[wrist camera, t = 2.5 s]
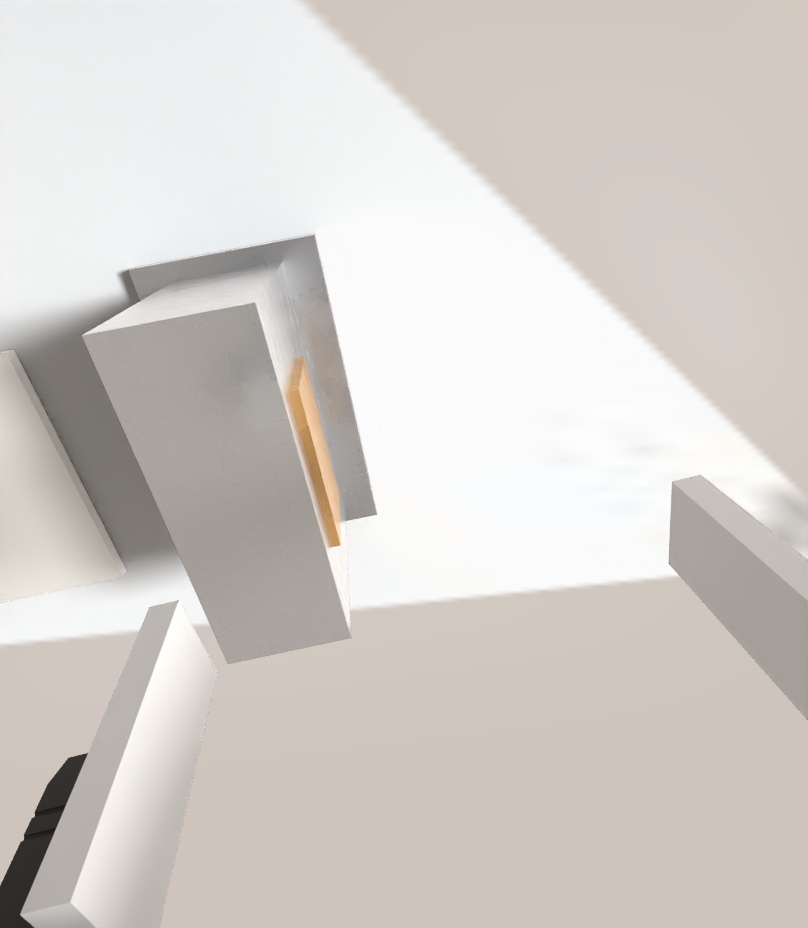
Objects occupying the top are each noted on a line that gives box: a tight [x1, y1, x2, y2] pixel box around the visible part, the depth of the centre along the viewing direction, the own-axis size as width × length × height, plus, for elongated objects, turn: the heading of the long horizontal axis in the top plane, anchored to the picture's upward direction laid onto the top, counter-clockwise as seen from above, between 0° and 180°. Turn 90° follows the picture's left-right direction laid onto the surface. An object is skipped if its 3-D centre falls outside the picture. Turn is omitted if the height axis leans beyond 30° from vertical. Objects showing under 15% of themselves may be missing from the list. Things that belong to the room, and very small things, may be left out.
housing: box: [82, 234, 377, 664], centre depth 28 cm, size 18×10×13 cm, turn 9°
